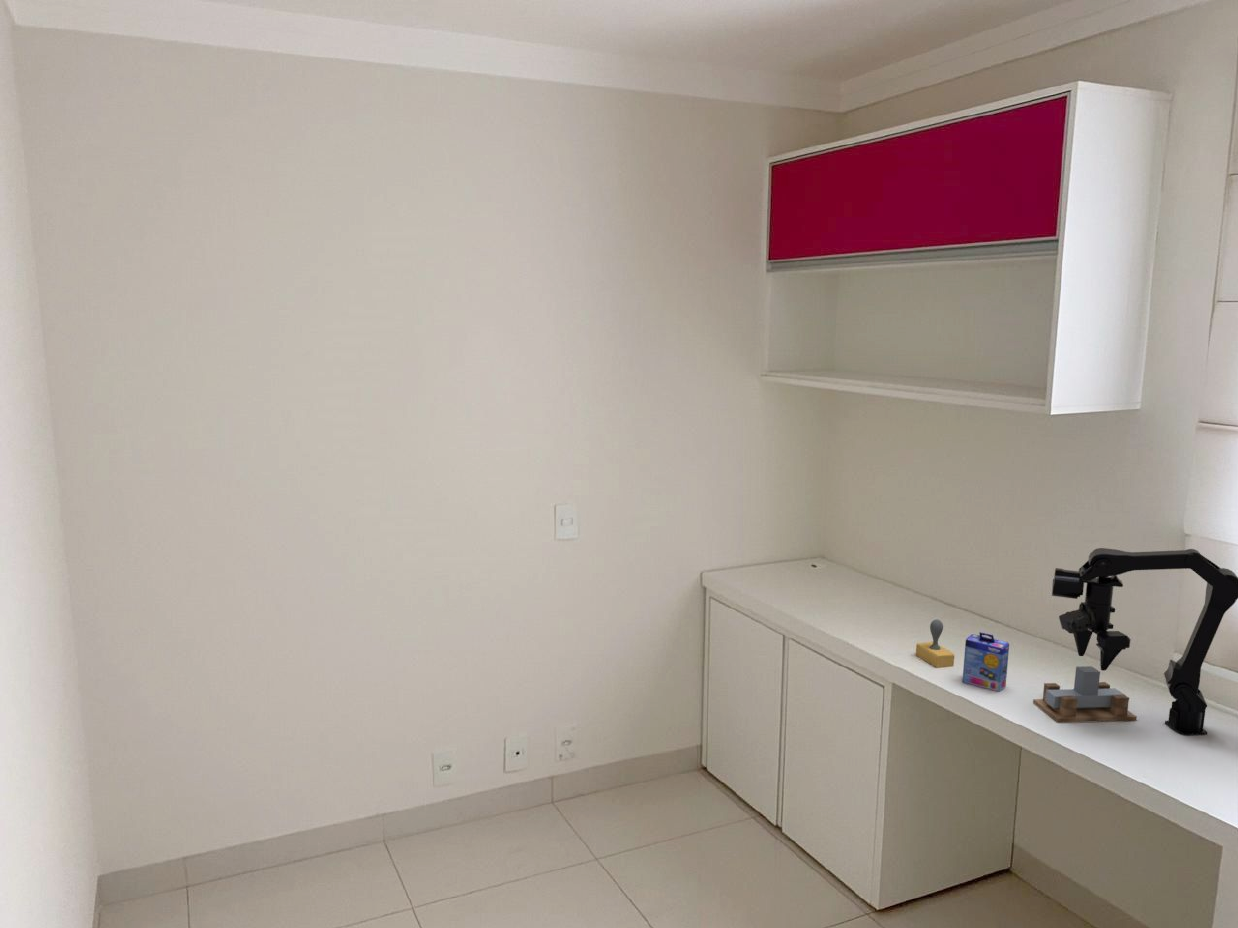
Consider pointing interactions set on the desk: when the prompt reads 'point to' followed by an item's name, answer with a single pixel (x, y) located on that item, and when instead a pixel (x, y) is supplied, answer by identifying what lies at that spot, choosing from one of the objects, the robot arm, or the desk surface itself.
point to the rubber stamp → (935, 648)
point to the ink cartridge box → (985, 662)
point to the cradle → (1074, 714)
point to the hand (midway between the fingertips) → (1091, 662)
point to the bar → (1084, 690)
